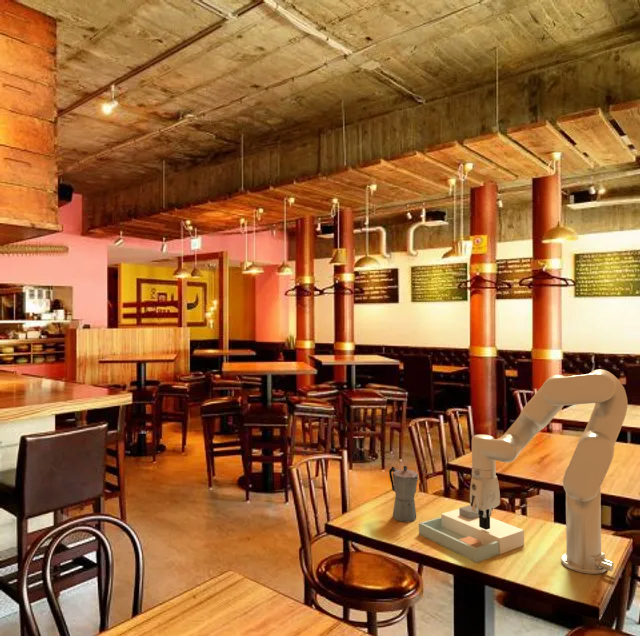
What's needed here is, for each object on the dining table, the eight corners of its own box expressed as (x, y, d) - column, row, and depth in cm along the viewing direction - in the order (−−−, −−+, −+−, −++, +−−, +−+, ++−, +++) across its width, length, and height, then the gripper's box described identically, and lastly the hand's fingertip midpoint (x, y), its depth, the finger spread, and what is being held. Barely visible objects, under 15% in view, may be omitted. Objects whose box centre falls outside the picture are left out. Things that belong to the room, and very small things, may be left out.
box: (499, 554, 169) (499, 541, 169) (476, 562, 164) (476, 549, 164) (440, 527, 192) (440, 516, 192) (418, 534, 186) (418, 523, 186)
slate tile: (479, 516, 189) (479, 509, 189) (470, 519, 186) (469, 512, 186) (469, 512, 193) (469, 505, 193) (459, 515, 190) (459, 508, 190)
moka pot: (410, 527, 193) (409, 472, 193) (380, 515, 205) (379, 463, 205) (427, 520, 199) (426, 467, 199) (396, 509, 211) (396, 459, 211)
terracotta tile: (470, 544, 170) (470, 552, 170) (481, 541, 172) (481, 549, 172) (458, 539, 174) (458, 547, 174) (469, 536, 177) (469, 543, 177)
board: (524, 545, 176) (524, 530, 176) (500, 554, 170) (499, 538, 170) (464, 520, 198) (464, 507, 198) (441, 527, 192) (441, 513, 192)
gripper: (477, 479, 169) (477, 536, 169) (508, 471, 177) (508, 526, 177) (459, 473, 175) (460, 529, 175) (490, 466, 183) (490, 519, 183)
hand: (484, 527), depth 176 cm, fingers closed
